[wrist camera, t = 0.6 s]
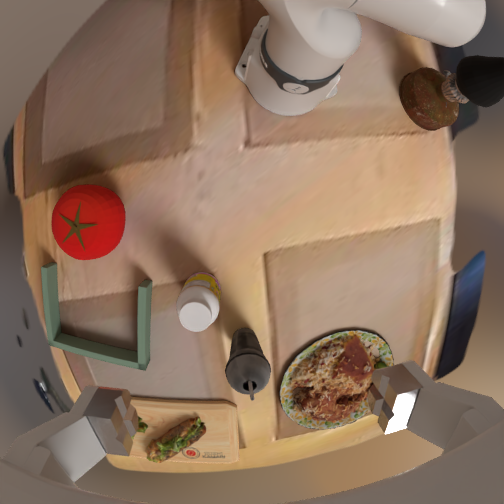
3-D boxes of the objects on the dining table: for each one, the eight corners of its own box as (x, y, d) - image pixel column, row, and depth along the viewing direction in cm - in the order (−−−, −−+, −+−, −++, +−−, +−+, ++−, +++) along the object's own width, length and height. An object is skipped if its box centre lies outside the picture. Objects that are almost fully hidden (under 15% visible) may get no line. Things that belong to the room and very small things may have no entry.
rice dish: (298, 318, 56) (303, 330, 51) (408, 333, 58) (419, 343, 53) (265, 419, 62) (266, 434, 56) (364, 422, 64) (371, 435, 58)
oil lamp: (433, 139, 53) (589, 173, 17) (387, 111, 49) (575, 125, 12) (441, 89, 49) (589, 98, 12) (397, 57, 45) (565, 37, 8)
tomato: (71, 253, 49) (43, 266, 39) (68, 187, 47) (38, 188, 36) (136, 253, 50) (115, 268, 40) (134, 182, 48) (111, 180, 37)
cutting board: (116, 449, 61) (110, 468, 54) (92, 389, 56) (81, 408, 49) (239, 458, 64) (240, 478, 56) (236, 398, 59) (237, 421, 51)
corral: (51, 262, 49) (41, 267, 45) (152, 280, 51) (146, 287, 47) (57, 337, 52) (49, 345, 48) (149, 360, 55) (145, 370, 51)
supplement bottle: (217, 308, 53) (214, 341, 41) (182, 302, 53) (170, 334, 40) (223, 274, 52) (221, 299, 40) (187, 267, 51) (174, 291, 39)
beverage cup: (225, 353, 55) (224, 422, 36) (225, 320, 54) (225, 385, 34) (261, 353, 56) (276, 422, 36) (264, 321, 55) (281, 384, 35)
